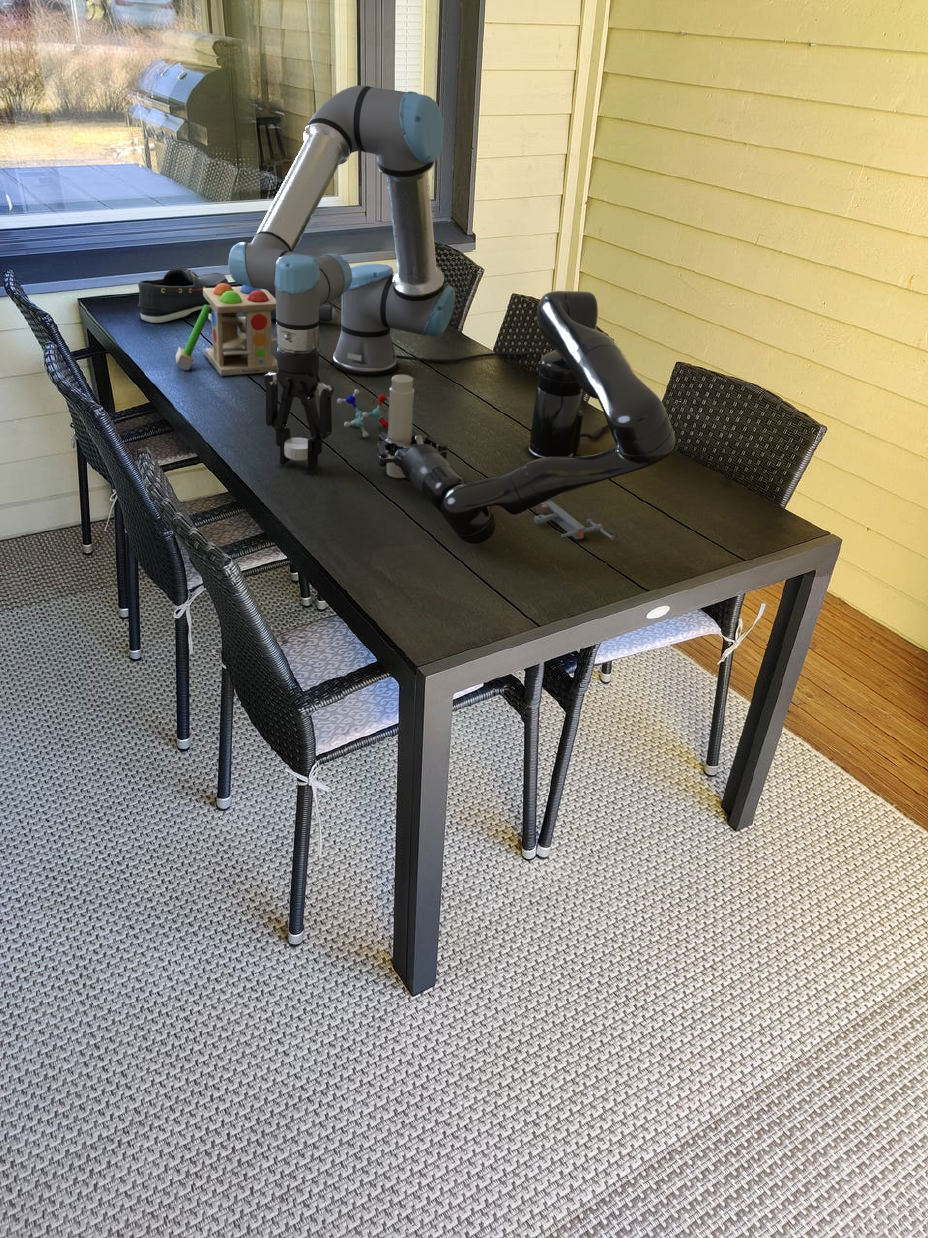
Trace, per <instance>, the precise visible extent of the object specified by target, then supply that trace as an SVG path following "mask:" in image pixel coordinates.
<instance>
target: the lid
mask: <svg viewBox="0 0 928 1238" xmlns="http://www.w3.org/2000/svg"><path fill="white" fill-rule="evenodd" d="M308 439H309V438H304V437H290V439H288V440H286V441H285V444H284V445H285V446H284V454H285V456H286V457H287V458H289V459H291V460H293V461H306V460H308Z"/></svg>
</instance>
